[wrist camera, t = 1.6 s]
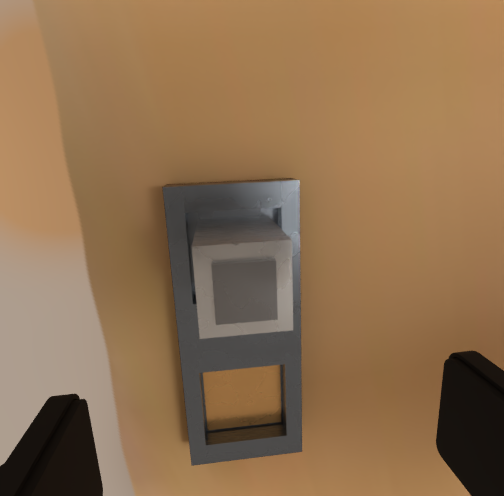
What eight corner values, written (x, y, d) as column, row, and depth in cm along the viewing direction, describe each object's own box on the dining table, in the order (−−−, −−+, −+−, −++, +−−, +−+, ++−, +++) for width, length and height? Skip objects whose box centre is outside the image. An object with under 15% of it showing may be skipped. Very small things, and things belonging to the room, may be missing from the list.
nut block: (267, 215, 25) (293, 241, 17) (269, 280, 27) (295, 333, 19) (197, 219, 25) (191, 248, 17) (203, 286, 26) (199, 342, 18)
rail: (291, 178, 26) (299, 180, 24) (295, 429, 31) (302, 451, 29) (167, 184, 25) (162, 187, 23) (193, 441, 31) (191, 465, 28)
